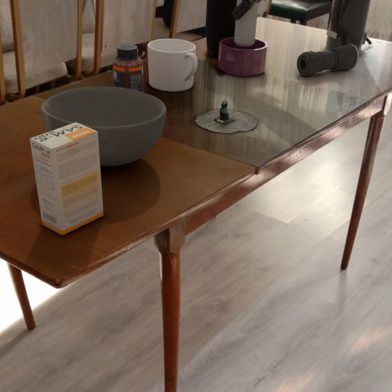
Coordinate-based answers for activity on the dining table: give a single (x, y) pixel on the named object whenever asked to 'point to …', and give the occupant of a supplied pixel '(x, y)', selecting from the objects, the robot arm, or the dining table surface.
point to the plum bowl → (242, 57)
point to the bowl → (110, 119)
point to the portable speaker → (219, 23)
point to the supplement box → (68, 177)
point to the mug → (171, 64)
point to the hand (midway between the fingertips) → (239, 14)
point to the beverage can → (246, 27)
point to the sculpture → (226, 120)
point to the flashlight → (328, 60)
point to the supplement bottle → (128, 68)
